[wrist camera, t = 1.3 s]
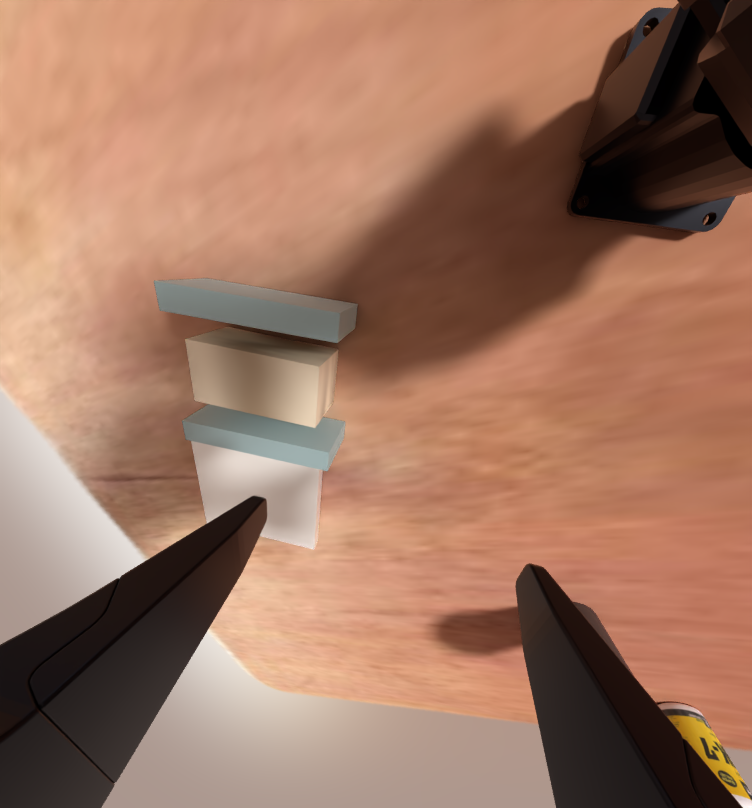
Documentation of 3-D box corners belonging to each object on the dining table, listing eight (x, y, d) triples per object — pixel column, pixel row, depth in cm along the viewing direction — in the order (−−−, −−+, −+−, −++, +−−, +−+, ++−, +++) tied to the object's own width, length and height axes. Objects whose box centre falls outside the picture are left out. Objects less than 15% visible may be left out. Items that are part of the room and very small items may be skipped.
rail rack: (357, 304, 17) (339, 313, 14) (343, 438, 22) (327, 471, 18) (207, 278, 18) (153, 280, 15) (223, 412, 23) (185, 439, 19)
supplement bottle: (712, 715, 30) (809, 866, 22) (669, 726, 32) (745, 867, 24) (676, 696, 29) (762, 844, 22) (636, 708, 31) (701, 847, 24)
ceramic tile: (324, 449, 23) (319, 457, 22) (317, 540, 28) (314, 549, 27) (197, 422, 24) (188, 428, 23) (213, 515, 29) (206, 522, 28)
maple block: (339, 348, 19) (319, 366, 15) (334, 400, 21) (315, 428, 17) (228, 326, 20) (185, 338, 16) (233, 378, 21) (194, 400, 18)
